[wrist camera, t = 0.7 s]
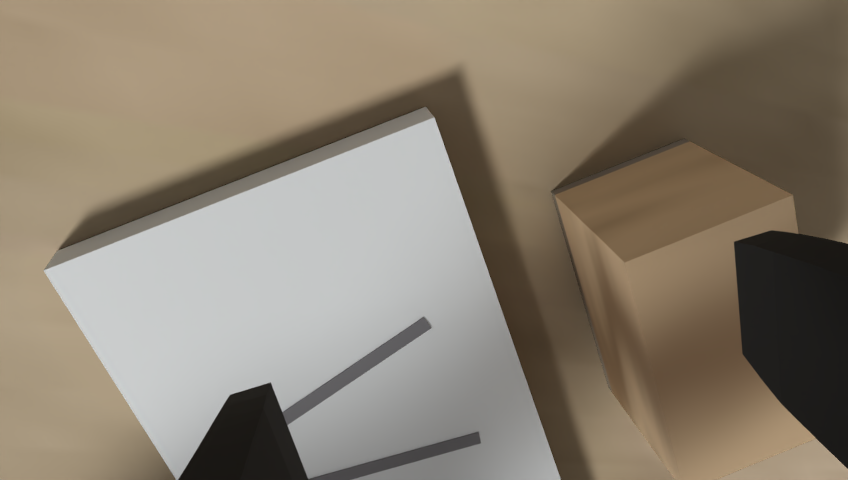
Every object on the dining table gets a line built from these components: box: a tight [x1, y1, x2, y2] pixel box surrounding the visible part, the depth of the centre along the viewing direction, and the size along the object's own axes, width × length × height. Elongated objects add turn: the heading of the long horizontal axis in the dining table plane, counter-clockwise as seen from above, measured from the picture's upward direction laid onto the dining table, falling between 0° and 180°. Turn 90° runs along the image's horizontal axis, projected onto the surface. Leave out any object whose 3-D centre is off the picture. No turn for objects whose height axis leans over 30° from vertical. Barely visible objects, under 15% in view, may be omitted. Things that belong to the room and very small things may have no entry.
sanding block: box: [551, 139, 816, 480], centre depth 20 cm, size 7×4×5 cm, turn 19°
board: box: [44, 107, 561, 480], centre depth 23 cm, size 18×10×1 cm, turn 19°
